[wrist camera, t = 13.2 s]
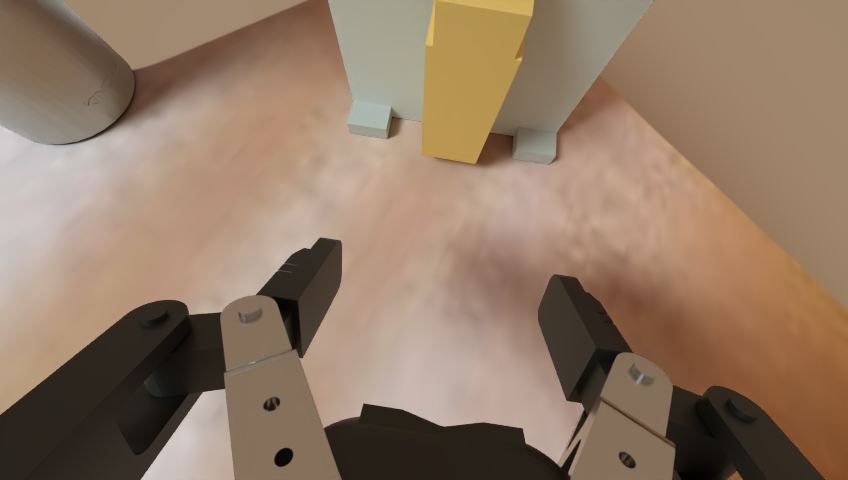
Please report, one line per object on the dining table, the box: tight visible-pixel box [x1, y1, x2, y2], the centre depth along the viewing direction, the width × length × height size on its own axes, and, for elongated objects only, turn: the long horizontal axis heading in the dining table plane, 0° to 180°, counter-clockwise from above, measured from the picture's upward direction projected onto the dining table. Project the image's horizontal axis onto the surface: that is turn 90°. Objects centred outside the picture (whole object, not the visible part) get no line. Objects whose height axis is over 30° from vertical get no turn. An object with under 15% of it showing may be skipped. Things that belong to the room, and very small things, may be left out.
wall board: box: [328, 0, 654, 164], centre depth 20 cm, size 16×7×12 cm, turn 82°
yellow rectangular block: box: [421, 0, 534, 164], centre depth 17 cm, size 4×8×12 cm, turn 171°
